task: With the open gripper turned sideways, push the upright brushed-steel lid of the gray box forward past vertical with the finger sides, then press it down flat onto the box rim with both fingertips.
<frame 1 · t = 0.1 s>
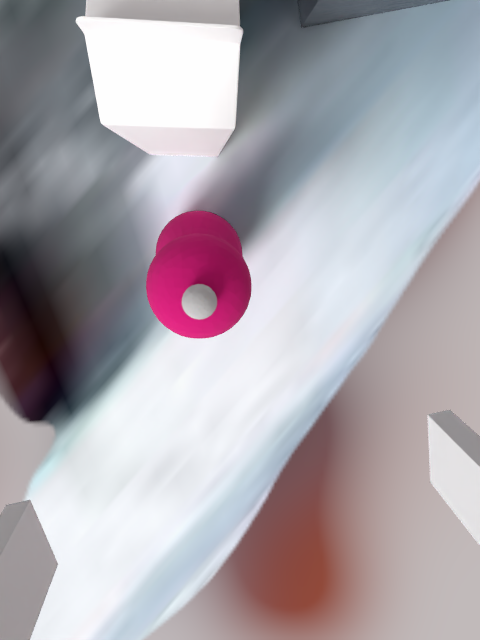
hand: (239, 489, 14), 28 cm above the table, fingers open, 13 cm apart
milk: (183, 119, 36), on the table
pepper mill: (199, 247, 39), on the table
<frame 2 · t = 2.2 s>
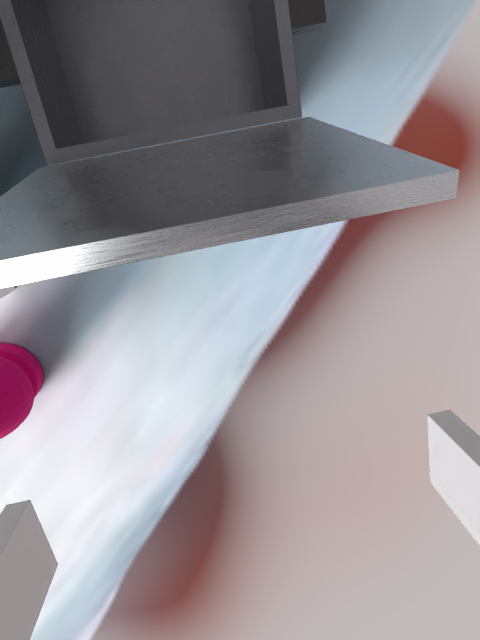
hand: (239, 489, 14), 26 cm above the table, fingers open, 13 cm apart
pepper mill: (9, 372, 39), on the table
gray box: (157, 39, 31), on the table
lid: (183, 200, 19), point 17 cm above the table, hinge at 103.0°
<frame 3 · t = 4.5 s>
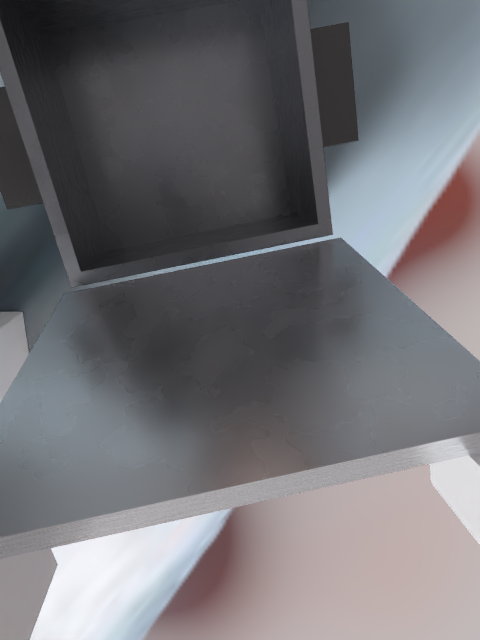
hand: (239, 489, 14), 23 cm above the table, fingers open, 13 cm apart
gray box: (179, 134, 31), on the table
lid: (219, 359, 18), point 17 cm above the table, hinge at 100.2°, touching gripper
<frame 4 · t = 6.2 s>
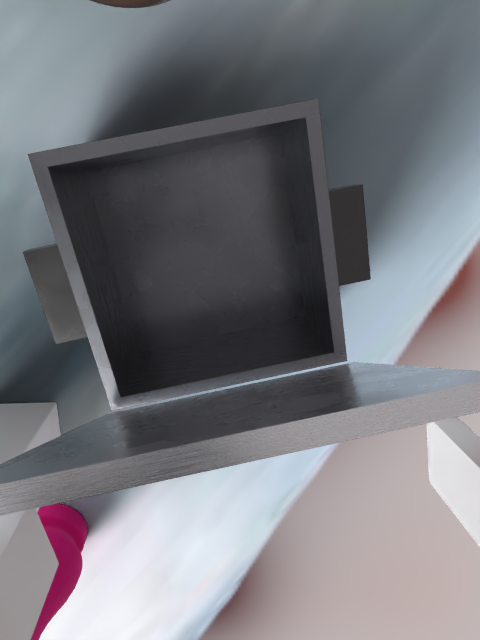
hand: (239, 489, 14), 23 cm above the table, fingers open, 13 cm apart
milk: (27, 430, 37), on the table
pepper mill: (56, 526, 41), on the table
gray box: (203, 247, 34), on the table
lid: (235, 432, 19), point 18 cm above the table, hinge at 66.8°, touching gripper
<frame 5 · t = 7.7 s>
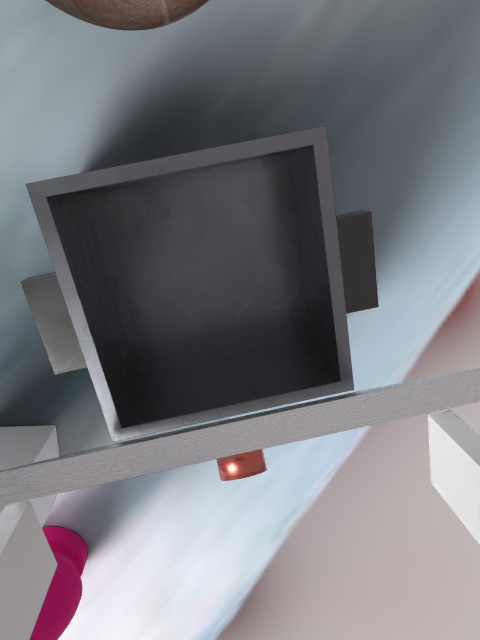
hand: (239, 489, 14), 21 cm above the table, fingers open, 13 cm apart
milk: (25, 453, 37), on the table
pepper mill: (55, 549, 40), on the table
gray box: (206, 268, 33), on the table
lid: (236, 452, 18), point 17 cm above the table, hinge at 58.5°
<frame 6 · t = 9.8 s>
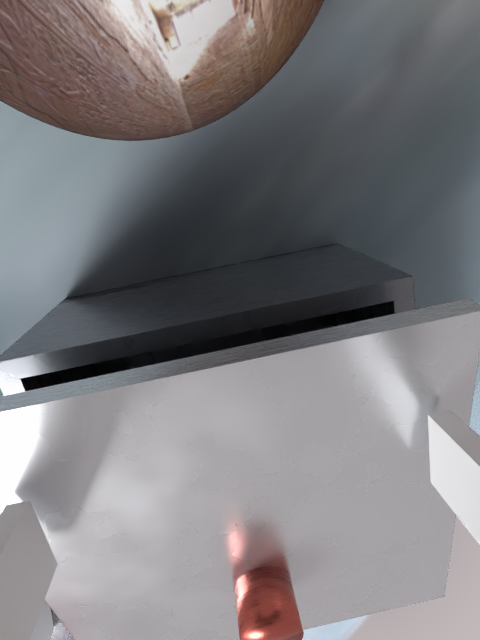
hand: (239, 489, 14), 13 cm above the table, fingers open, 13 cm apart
milk: (8, 598, 30), on the table
gray box: (229, 391, 27), on the table
lid: (252, 550, 15), point 12 cm above the table, hinge at 10.0°, touching gripper
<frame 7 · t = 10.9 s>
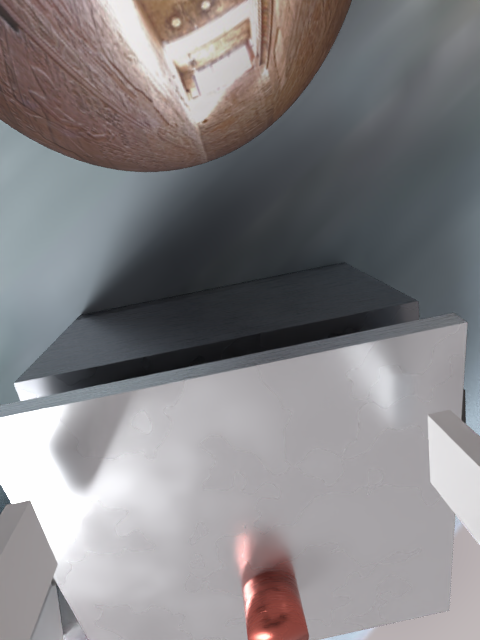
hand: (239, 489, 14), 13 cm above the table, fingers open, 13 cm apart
milk: (19, 607, 31), on the table
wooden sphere: (156, 16, 20), on the table
gray box: (237, 405, 27), on the table
lid: (260, 550, 16), point 12 cm above the table, hinge at 6.3°
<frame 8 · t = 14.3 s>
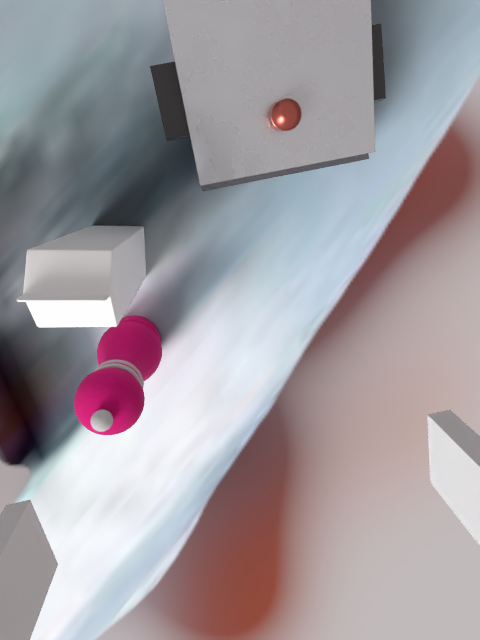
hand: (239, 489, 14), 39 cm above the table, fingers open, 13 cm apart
milk: (120, 251, 49), on the table
pepper mill: (135, 338, 52), on the table
gray box: (259, 100, 45), on the table
lid: (278, 70, 34), point 12 cm above the table, hinge at 6.3°
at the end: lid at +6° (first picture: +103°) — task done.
